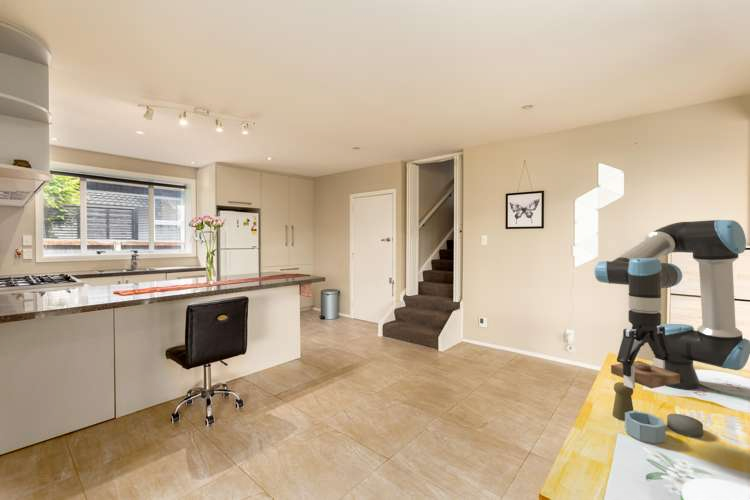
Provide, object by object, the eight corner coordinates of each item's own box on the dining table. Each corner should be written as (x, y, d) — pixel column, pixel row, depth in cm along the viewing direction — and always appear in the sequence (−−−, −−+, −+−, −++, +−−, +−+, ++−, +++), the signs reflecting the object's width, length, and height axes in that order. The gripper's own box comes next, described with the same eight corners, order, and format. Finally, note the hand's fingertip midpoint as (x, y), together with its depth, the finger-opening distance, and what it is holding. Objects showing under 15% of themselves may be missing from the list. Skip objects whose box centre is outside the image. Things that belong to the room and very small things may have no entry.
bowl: (639, 424, 107) (639, 409, 106) (672, 440, 98) (672, 423, 98) (618, 430, 104) (618, 413, 104) (649, 446, 95) (649, 429, 95)
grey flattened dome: (678, 421, 108) (678, 411, 108) (709, 434, 101) (709, 424, 100) (660, 425, 106) (660, 416, 106) (691, 439, 98) (691, 429, 98)
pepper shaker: (639, 422, 108) (639, 388, 108) (617, 420, 109) (617, 387, 109) (628, 413, 114) (628, 380, 114) (608, 411, 115) (608, 379, 115)
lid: (638, 368, 108) (638, 357, 108) (680, 382, 97) (680, 370, 97) (611, 373, 104) (611, 361, 104) (651, 388, 93) (651, 375, 93)
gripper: (659, 305, 107) (658, 373, 108) (601, 311, 100) (601, 384, 101) (686, 309, 100) (686, 383, 101) (627, 316, 93) (627, 395, 93)
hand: (644, 383), depth 101 cm, fingers closed on lid, 11 cm apart
